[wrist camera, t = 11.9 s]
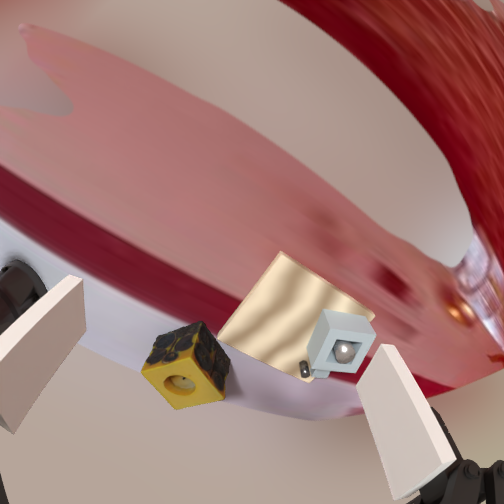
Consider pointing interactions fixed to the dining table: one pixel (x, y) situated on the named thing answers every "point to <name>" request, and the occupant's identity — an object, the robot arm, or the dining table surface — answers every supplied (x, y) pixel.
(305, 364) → the dowel
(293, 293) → the board
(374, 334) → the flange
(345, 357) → the post
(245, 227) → the dining table surface
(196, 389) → the yellow black cube
